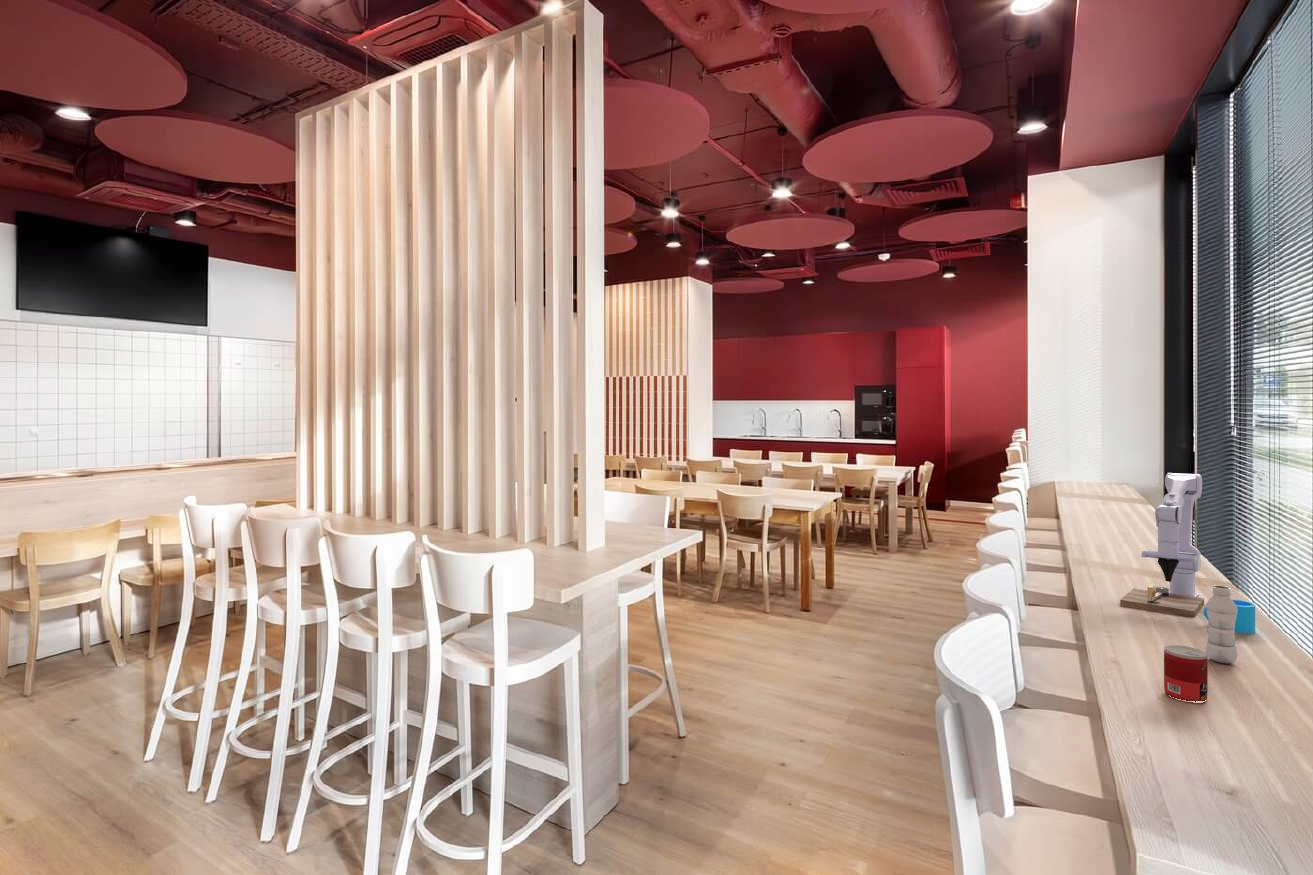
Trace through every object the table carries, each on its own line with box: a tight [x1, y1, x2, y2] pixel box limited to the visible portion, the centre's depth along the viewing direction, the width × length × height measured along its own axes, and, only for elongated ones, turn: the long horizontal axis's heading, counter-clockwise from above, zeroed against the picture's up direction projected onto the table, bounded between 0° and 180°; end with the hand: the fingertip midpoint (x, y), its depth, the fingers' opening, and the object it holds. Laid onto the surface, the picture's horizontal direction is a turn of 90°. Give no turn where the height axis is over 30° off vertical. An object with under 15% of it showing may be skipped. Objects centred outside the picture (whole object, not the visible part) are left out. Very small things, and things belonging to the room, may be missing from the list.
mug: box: [1203, 598, 1256, 635], centre depth 201 cm, size 12×8×8 cm
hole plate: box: [1119, 588, 1205, 618], centre depth 226 cm, size 20×20×2 cm
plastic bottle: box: [1205, 585, 1239, 664], centre depth 174 cm, size 6×7×20 cm
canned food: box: [1163, 644, 1209, 702], centre depth 154 cm, size 8×8×11 cm
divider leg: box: [1147, 584, 1169, 602], centre depth 227 cm, size 16×4×5 cm, turn 128°
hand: (1168, 580), depth 222 cm, fingers closed
